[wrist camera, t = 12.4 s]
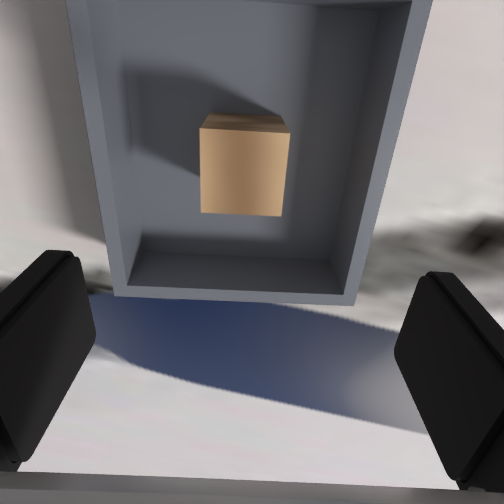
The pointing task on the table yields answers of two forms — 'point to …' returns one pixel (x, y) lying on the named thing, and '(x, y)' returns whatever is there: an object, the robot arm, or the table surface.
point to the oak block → (243, 164)
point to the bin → (243, 102)
